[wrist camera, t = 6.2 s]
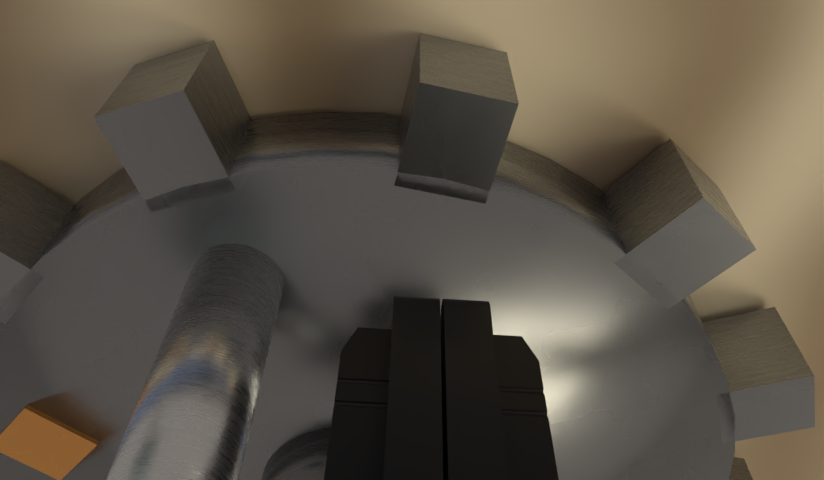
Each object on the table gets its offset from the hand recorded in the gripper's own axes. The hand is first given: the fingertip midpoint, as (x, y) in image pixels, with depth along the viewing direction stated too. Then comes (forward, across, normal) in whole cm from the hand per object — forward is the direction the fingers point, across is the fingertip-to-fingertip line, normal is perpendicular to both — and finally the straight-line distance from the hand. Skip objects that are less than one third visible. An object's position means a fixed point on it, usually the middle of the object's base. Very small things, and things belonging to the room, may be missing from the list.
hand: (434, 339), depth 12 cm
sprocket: (+3, +1, +6) cm, 7 cm away
